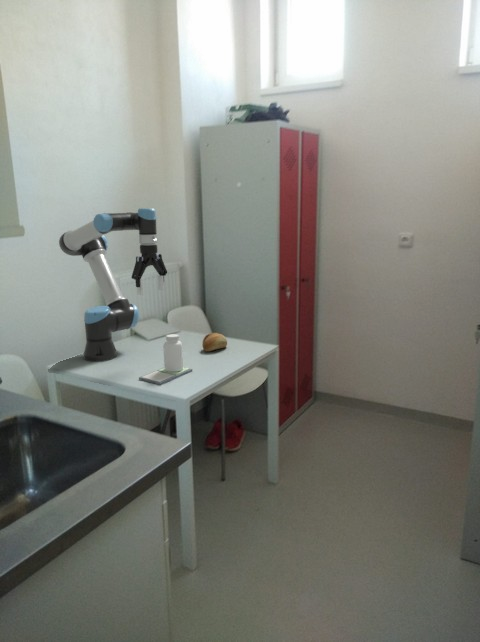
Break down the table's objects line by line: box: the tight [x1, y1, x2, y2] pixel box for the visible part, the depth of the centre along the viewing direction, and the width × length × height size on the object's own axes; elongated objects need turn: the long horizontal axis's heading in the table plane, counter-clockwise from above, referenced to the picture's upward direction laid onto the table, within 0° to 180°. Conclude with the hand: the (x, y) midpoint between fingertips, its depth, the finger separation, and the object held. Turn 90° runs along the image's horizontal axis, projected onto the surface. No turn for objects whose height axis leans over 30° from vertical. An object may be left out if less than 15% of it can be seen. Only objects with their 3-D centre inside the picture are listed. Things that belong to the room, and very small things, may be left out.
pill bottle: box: [162, 333, 184, 372], centre depth 215 cm, size 8×8×15 cm
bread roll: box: [202, 332, 228, 352], centre depth 249 cm, size 10×15×8 cm, turn 142°
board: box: [138, 366, 193, 386], centre depth 213 cm, size 12×20×1 cm, turn 146°
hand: (150, 292), depth 227 cm, fingers open, 13 cm apart
